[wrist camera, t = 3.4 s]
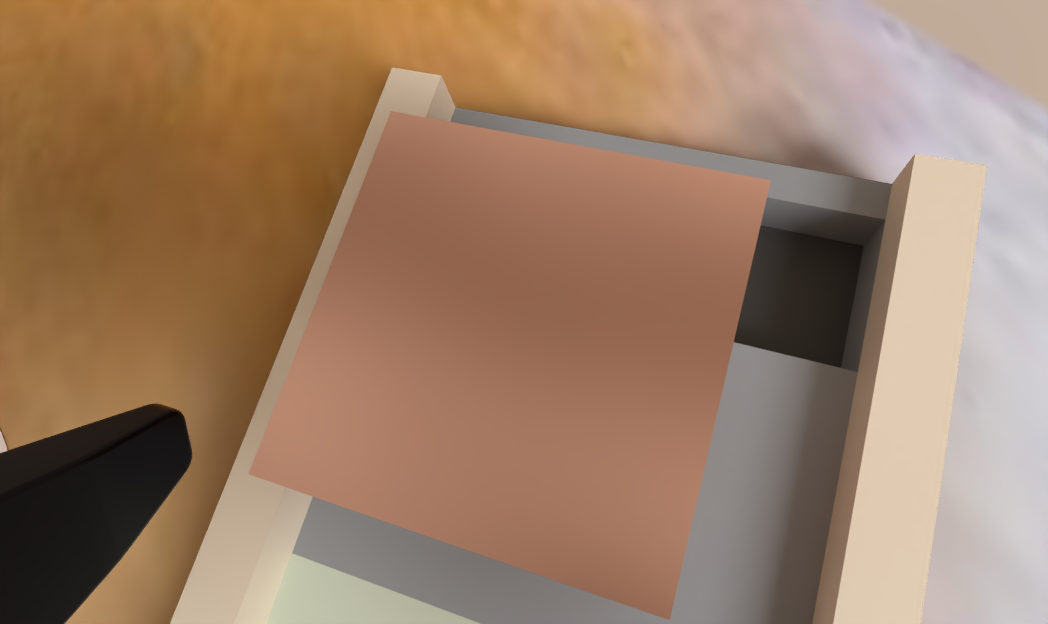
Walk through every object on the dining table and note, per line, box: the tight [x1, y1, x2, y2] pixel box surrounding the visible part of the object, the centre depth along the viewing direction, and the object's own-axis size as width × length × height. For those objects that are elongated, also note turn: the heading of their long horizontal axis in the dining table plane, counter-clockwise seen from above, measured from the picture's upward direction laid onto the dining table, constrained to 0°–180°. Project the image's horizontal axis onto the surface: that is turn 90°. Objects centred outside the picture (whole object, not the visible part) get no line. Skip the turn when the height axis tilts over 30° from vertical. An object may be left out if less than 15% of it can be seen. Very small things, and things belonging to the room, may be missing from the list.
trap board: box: [170, 67, 987, 624], centre depth 16 cm, size 24×15×4 cm, turn 163°
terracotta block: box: [249, 111, 771, 620], centre depth 12 cm, size 5×5×9 cm
